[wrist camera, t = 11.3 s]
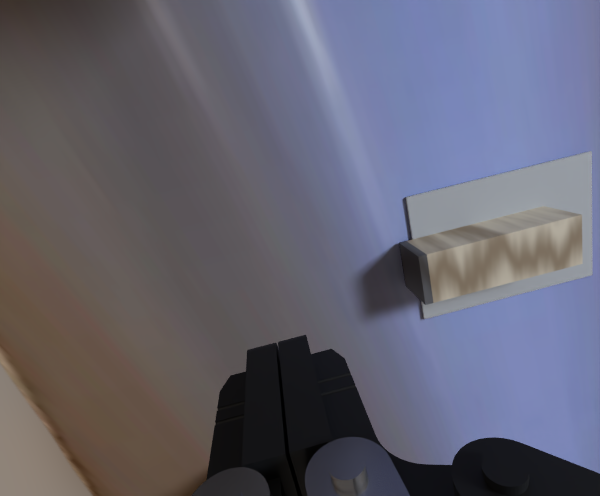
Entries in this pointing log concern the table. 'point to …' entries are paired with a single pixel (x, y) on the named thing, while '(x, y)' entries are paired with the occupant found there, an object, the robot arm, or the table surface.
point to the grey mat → (501, 202)
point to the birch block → (491, 253)
